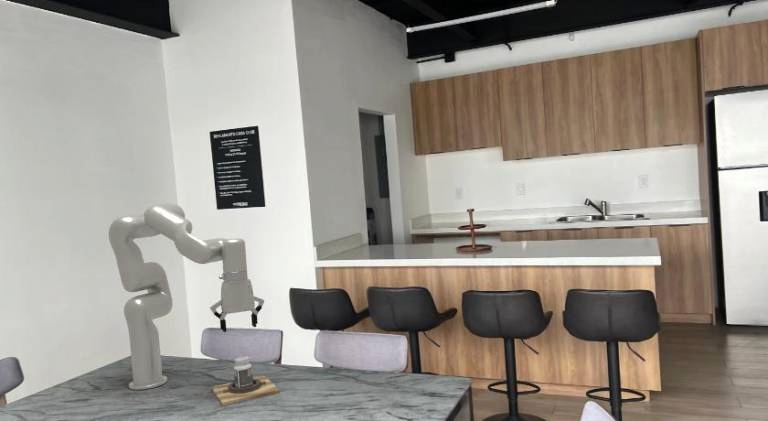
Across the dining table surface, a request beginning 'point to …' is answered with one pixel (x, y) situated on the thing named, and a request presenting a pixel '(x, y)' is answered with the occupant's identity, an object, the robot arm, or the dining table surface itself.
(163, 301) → the robot arm
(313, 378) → the dining table surface
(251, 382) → the pill bottle
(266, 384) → the socket board
